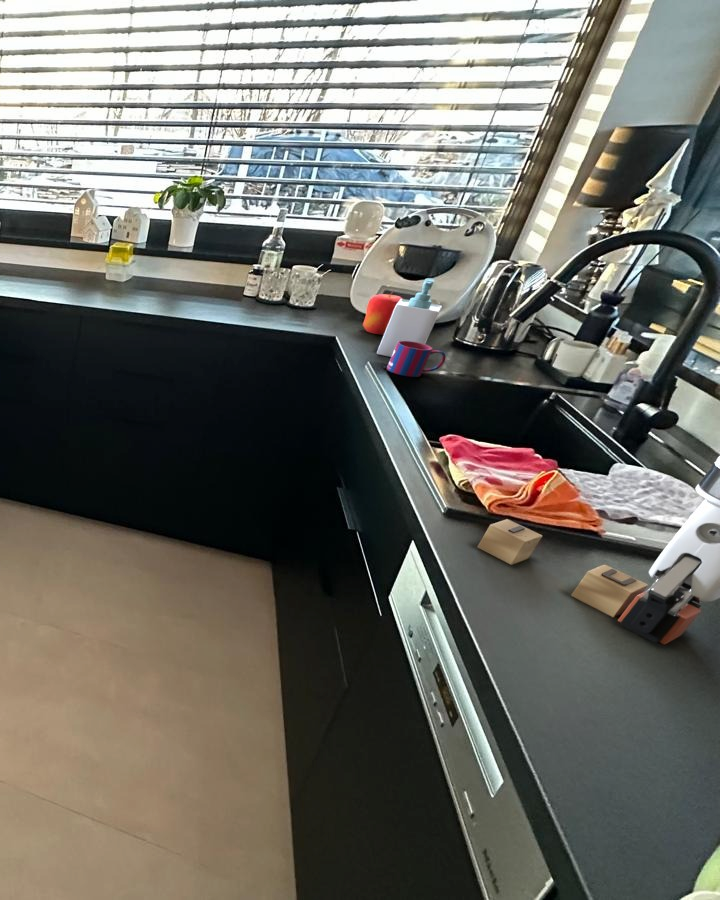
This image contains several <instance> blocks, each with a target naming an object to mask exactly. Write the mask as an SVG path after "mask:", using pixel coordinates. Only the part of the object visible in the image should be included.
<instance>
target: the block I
mask: <svg viewBox="0 0 720 900" xmlns="http://www.w3.org/2000/svg"><path fill="white" fill-rule="evenodd" d="M542 538H543V535H542V534H540V533H538V532H536V531H534V530H531V528H528V527H525V526H523V525H521V524H519V523H517V522H515V521H512V520H511V519H508V518H506V519H503V520H500V521H498V522H495V523H491V524H489V526H488V527H487V530H486V531H485V533H484V535H483V537H482V538H481V539H480V542H479V543H478V545H477V548H478V549H479V550H481V551H484V552H485V553H487V554H490V555H491V556H493V557H495V558H496V559H499V560H501V561H502V562H505V563H506V564H509V565H511V566H513V565H515V564H518V563H520V562H524V561H525V560H528V559H529V558H530V557H531V555H532V554H533V552H534V550H535V549H536V547H537V545H538V544H539V542H540V541H541V539H542Z"/></svg>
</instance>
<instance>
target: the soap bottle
mask: <svg viewBox="0 0 720 900" xmlns="http://www.w3.org/2000/svg"><path fill="white" fill-rule="evenodd" d="M435 281H436V279H434V278H431V277H427V278H425V279H424V281H423V284H422V286H421V289H422V290H421V292H417V293H416V294H415V295H414V297H411V298H410V299H405V298H403V299H401V300H400V301H399V302H398V303H397V304H396V306H395V309H394V311H393V314H392V316H391V319H390V321H389V324H388V326H387V328H386V331H385V333H384V335H382V338H381V341H380V344H379V346H378V348H377V351H376V354H377V355H380V356H383V357H384V356H385V357H389V358H391V357H392V354H393V352H394V349H395V347H396V345H397V342H398V341H412V342H417V343H422V344H425V345H426V344H427V341H428V339H429V336H430V334H431V332H432V330H433V328H434V325H435V323H436V321H437V318H438V316H439V313H440V312H441V310H442V305H441V304H435V303H433V301H432V300H431V297H432V295H431V294H430V293H428V292H429V291H430V290H431V289H432V287H433V285H434V282H435Z"/></svg>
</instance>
